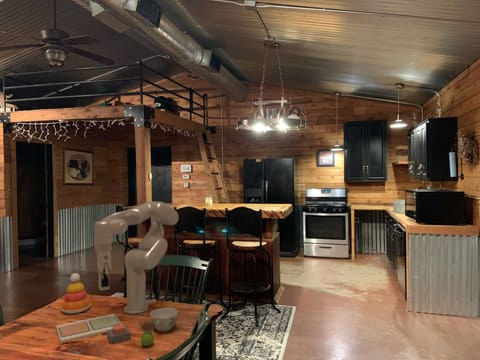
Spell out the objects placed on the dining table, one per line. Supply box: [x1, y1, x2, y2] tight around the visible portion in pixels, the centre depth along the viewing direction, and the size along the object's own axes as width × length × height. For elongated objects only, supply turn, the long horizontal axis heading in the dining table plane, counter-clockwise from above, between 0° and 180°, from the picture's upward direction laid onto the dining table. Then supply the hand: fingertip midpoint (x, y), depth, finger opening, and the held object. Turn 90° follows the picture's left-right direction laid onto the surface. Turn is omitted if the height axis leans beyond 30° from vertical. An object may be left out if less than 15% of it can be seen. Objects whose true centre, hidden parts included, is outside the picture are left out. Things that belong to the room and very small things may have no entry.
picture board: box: [56, 313, 122, 344], centre depth 164 cm, size 26×18×1 cm
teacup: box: [149, 307, 179, 332], centre depth 161 cm, size 15×12×8 cm
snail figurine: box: [138, 316, 155, 347], centre depth 147 cm, size 5×6×12 cm
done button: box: [113, 323, 126, 335], centre depth 154 cm, size 4×4×3 cm
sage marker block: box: [97, 269, 110, 291], centre depth 167 cm, size 4×4×10 cm
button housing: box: [106, 325, 132, 345], centre depth 154 cm, size 8×8×3 cm
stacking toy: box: [60, 272, 92, 315], centre depth 187 cm, size 14×14×20 cm
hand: (104, 285), depth 167 cm, fingers closed on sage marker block, 4 cm apart
